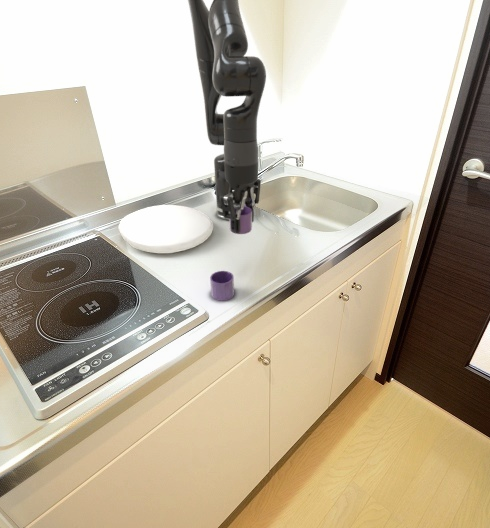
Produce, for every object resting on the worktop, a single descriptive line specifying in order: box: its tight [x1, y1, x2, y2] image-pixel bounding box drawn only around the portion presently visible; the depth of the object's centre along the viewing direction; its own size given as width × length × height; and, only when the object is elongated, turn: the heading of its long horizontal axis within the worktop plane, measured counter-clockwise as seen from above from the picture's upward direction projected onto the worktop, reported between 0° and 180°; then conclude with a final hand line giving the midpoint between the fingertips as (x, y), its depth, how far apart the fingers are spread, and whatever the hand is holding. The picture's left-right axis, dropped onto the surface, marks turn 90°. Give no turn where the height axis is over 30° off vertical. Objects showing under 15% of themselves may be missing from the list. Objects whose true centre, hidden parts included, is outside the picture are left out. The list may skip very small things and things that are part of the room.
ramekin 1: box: [209, 270, 235, 302], centre depth 89 cm, size 6×6×5 cm
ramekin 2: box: [228, 206, 253, 235], centre depth 90 cm, size 6×6×5 cm
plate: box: [118, 204, 214, 254], centre depth 113 cm, size 28×6×27 cm
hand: (242, 226), depth 90 cm, fingers closed on ramekin 2, 5 cm apart
